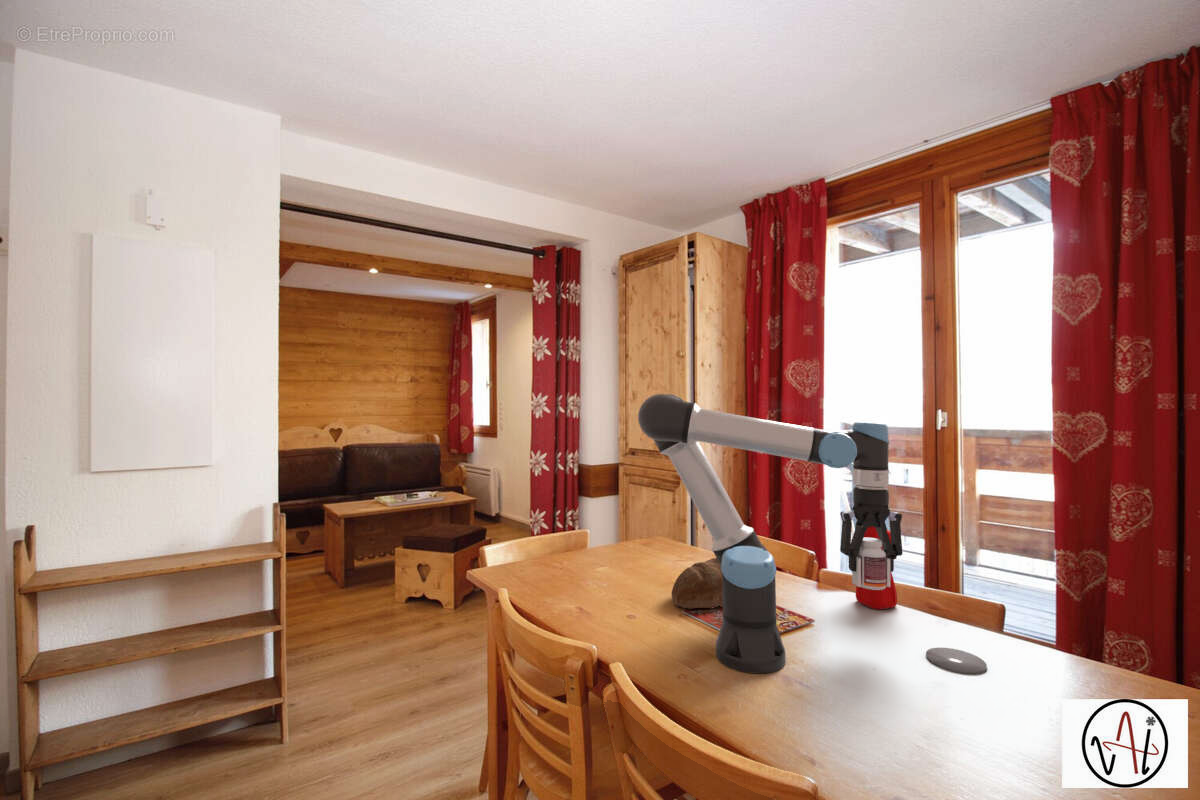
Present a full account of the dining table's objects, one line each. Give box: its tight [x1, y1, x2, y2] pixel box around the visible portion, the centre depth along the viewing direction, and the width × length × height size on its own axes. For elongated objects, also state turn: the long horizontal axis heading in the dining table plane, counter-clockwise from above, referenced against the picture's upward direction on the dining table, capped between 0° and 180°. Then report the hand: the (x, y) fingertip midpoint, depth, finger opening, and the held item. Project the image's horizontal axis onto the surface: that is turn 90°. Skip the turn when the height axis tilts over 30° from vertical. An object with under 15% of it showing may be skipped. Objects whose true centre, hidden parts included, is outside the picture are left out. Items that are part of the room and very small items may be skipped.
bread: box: [671, 557, 723, 610], centre depth 157 cm, size 16×29×11 cm, turn 124°
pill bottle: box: [857, 537, 886, 590], centre depth 125 cm, size 6×6×11 cm
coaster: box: [925, 647, 988, 675], centre depth 115 cm, size 11×11×1 cm
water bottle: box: [855, 526, 898, 611], centre depth 151 cm, size 9×11×25 cm
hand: (871, 584), depth 125 cm, fingers closed on pill bottle, 6 cm apart
